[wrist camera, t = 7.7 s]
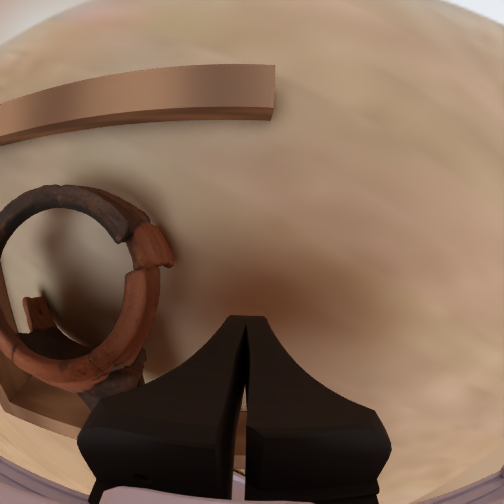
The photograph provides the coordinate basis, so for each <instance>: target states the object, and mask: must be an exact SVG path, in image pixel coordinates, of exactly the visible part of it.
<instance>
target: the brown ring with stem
mask: <svg viewBox="0 0 504 504" xmlns="http://www.w3.org/2000/svg"><path fill="white" fill-rule="evenodd" d="M52 208H67V209H72V210H77V211H79V212H83V213H85V214H87V215H89V216H91V217H92V218H94V219H95V220H96V221H98V222H99V223H100V224H101V225H102V226H103V227H104V228H105V229H106V230H107V232H108V233H109V234H110V236H111V237H112V238H113V240H114V241H115V242H116V243H117V244H120V243H121V242H126V243H127V246H128V249H129V252H130V254H131V256H132V260H133V267H134V271H131V272H129V273H127V274H126V275H125V291H124V298H123V304H122V309H121V313H120V316H119V318H118V320H117V322H116V324H115V326H114V328H113V329H112V331H111V333H110V334H109V335H108V337H107V338H106V339H105V341H104V342H103V343H102V344H100V345H99V346H98V347H96V348H95V347H88V346H84V345H82V344H79V343H77V342H75V341H73V340H71V339H70V338H68V337H67V336H66V335H64V334H63V333H62V332H61V331H60V330H59V329H58V328H57V325H56V324H55V322H54V320H53V318H52V316H51V314H50V312H49V310H48V306H47V303H46V300H45V298H44V297H43V296H42V297H35V298H30V297H25V298H23V307H24V310H25V313H26V317H27V322H28V326H29V329H30V333H29V334H27V333H15V332H14V331H13V329H12V328H11V327H10V325H9V324H8V323H7V320H6V318H5V316H4V313H3V311H2V310H1V306H0V349H1V350H2V352H3V353H4V354H5V355H6V356H7V357H8V358H9V359H11V360H12V361H14V363H15V364H16V365H17V366H18V367H19V368H20V369H22V370H23V371H25V372H27V373H29V374H31V375H33V376H34V377H37V378H38V379H40V380H42V381H44V382H45V383H47V384H49V385H52V386H56V387H59V388H62V389H64V390H67V391H70V392H72V393H76V394H77V395H78V396H79V397H80V398H81V399H82V400H83V402H84V403H85V404H86V405H87V407H88V408H89V409H90V411H92V410H93V408H94V407H95V405H96V404H97V403H98V401H99V400H100V398H103V397H107V396H111V395H114V394H118V393H121V392H125V391H128V390H131V389H134V388H136V387H139V386H142V385H144V384H145V383H144V379H143V374H142V373H143V369H144V362H145V361H146V351H145V349H143V348H142V346H143V343H144V341H145V340H146V338H147V336H148V334H149V332H150V329H151V325H152V322H153V318H154V315H155V311H156V308H157V305H158V301H159V294H160V269H159V266H165V267H167V268H172V267H173V266H174V259H173V256H172V253H171V250H170V248H169V246H168V244H167V241H166V239H165V238H164V236H163V235H162V233H161V232H160V230H159V228H158V227H157V226H154V225H152V224H151V223H150V219H149V217H148V216H147V215H146V213H144V212H143V211H141V210H140V209H138V208H137V207H135V206H134V205H132V204H131V203H129V202H127V201H125V200H123V199H121V198H120V197H118V196H115V195H113V194H111V193H109V192H106V191H103V190H100V189H96V188H90V187H84V186H74V185H63V186H59V185H43V186H41V187H39V188H36V189H33V190H30V191H27V192H25V193H23V194H21V195H20V196H18V197H17V198H16V199H14V200H12V201H11V202H10V203H9V204H8V205H7V206H6V207H4V209H3V210H2V211H1V212H0V258H1V255H2V252H3V249H4V247H5V245H6V243H7V241H8V239H9V238H10V236H11V235H12V234H13V232H14V231H15V230H16V229H17V228H18V227H19V226H20V225H21V224H22V223H23V222H24V221H26V220H27V219H28V218H30V217H31V216H33V215H34V214H37V213H39V212H41V211H44V210H48V209H52Z"/></svg>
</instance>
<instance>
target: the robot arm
mask: <svg viewBox="0 0 504 504" xmlns="http://www.w3.org/2000/svg"><path fill="white" fill-rule="evenodd" d="M244 387H245V388H246V403H247V421H246V463H245V477H244V476H242V475H240V474H238V473H236V472H235V471H233V469H234V454H235V440H236V432H237V426H238V421H239V415H240V410H241V404H242V399H243V393H244ZM77 445H78V447H79V450H80V452H81V454H82V456H83V458H84V459H85V461H86V463H87V464H88V466H89V468H90V469H91V471H92V472H93V474H94V476H95V477H96V482H95V484H94V486H93V489H92V491H91V494H90V496H89V495H86V494H83V493H81V492H78V491H75V490H72V489H70V488H67V487H65V486H62V485H60V484H57V483H55V482H52V481H50V480H48V479H45V478H43V477H41V476H39V475H37V474H35V473H32V472H30V471H28V470H26V469H24V468H22V467H20V466H18V465H16V464H14V463H13V462H11V461H9V460H7V459H5V458H3V457H2V456H0V504H379V503H378V499H377V495H376V494H378V493H379V485H378V482H377V478H378V476H379V474H380V473H381V471H382V469H383V468H384V466H385V464H386V462H387V461H388V459H389V456H390V453H391V451H392V449H391V442H390V439H389V437H388V434H387V432H386V430H385V428H384V426H383V424H382V422H381V420H380V419H379V417H378V415H377V414H376V412H375V411H374V410H372V409H369V408H367V407H364V406H362V405H360V404H357V403H355V402H352V401H350V400H348V399H346V398H344V397H342V396H340V395H339V394H337V393H335V392H333V391H332V390H330V389H328V388H327V387H325V386H324V385H322V384H321V383H319V382H318V381H317V380H315V379H314V378H313V377H311V376H310V375H309V374H308V373H306V372H305V371H304V370H303V369H302V368H301V367H300V366H299V365H298V364H297V363H296V362H295V361H294V360H293V358H292V357H291V356H290V355H289V354H288V353H287V351H286V350H285V349H284V347H283V346H282V345H281V343H280V342H279V340H278V339H277V337H276V336H275V334H274V333H273V331H272V329H271V327H270V325H269V323H268V321H267V319H266V318H265V317H264V316H237V315H230V316H229V317H228V318H227V319H226V320H225V322H224V323H223V324H222V326H221V327H220V328H219V329H218V331H217V332H216V333H215V334H214V335H213V336H212V337H211V338H210V340H209V341H208V342H207V343H206V344H205V345H204V346H203V347H202V348H200V349H199V350H198V351H197V352H196V353H195V354H194V355H193V356H192V357H190V358H189V359H188V360H187V361H185V362H184V363H183V364H181V365H180V366H178V367H177V368H175V369H173V370H172V371H170V372H168V373H166V374H165V375H163V376H161V377H159V378H157V379H155V380H153V381H151V382H149V383H146V384H144V385H142V386H139V387H136V388H134V389H131V390H128V391H125V392H121V393H118V394H114V395H111V396H107V397H103V398H100V400H99V401H98V403H97V404H96V405H95V407H94V408H93V410H92V411H91V413H90V415H89V416H88V418H87V420H86V422H85V423H84V425H83V427H82V429H81V431H80V432H79V434H78V436H77ZM415 504H504V465H503V467H502V468H501V470H500V471H498V472H497V473H494V474H492V475H490V476H488V477H486V478H484V479H481V480H479V481H477V482H474V483H472V484H470V485H467V486H465V487H462V488H460V489H457V490H454V491H452V492H449V493H447V494H444V495H441V496H437V497H435V498H432V499H428V500H425V501H422V502H419V503H415Z"/></svg>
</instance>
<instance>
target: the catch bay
mask: <svg viewBox="0 0 504 504" xmlns="http://www.w3.org/2000/svg"><path fill="white" fill-rule="evenodd" d="M274 95H275V65H256V64H217V65H193V66H178V67H166V68H157V69H148V70H140V71H133V72H126V73H119V74H113V75H108V76H102V77H97V78H92V79H87V80H83V81H78V82H74V83H69V84H65V85H61V86H57V87H54V88H50V89H46V90H43V91H39V92H36V93H33V94H29V95H26V96H23V97H20V98H17V99H14V100H11V101H8V102H5V103H3V104H0V146H2V145H6V144H10V143H14V142H18V141H23V140H27V139H32V138H37V137H42V136H47V135H52V134H58V133H64V132H70V131H76V130H83V129H90V128H97V127H105V126H114V125H123V124H134V123H146V122H160V121H179V120H269V121H270V120H271V117H272V113H273V110H274ZM0 306H1V310H2V311H3V313H4V316H5V318H6V320H7V323H8V324H9V325H10V327H11V328H12V329H13V331H14V332H15V333H18V331H17V328H16V325H15V321H14V318H13V315H12V311H11V307H10V304H9V300H8V296H7V292H6V287H5V283H4V279H3V274H2V269H1V264H0ZM0 404H1V406H2V408H3V410H4V411H5V412H7V413H9V414H11V415H13V416H16V417H18V418H20V419H22V420H25V421H27V422H29V423H32V424H34V425H37V426H39V427H42V428H44V429H47V430H50V431H52V432H55V433H58V434H61V435H64V436H67V437H70V438H73V439H76V440H77V436H78V434H79V432H80V431H81V429H82V427H83V425H84V423H85V422H86V420H87V418H88V416H89V415H90V413H91V411H90V409H89V408H88V407H87V405H86V404H85V403H84V402H83V400H82V399H81V398H80V397H79V396H78V395H77V394H76V393H72V392H70V391H67V390H64V389H62V388H59V387H56V386H52V385H49V384H47V383H45V382H44V381H42V380H40V379H38V378H37V377H34V376H33V375H31V374H29V373H27V372H25V371H23V370H22V369H20V368H19V367H18V366H17V365H16V364H15V363H14V361H12V360H11V359H9V358H8V357H7V356H6V355H5V354H4V353H3V352H2V350H1V349H0ZM246 421H247V412H241V411H240V415H239V421H238V426H237V432H236V440H235V454H234V469H245V463H246Z"/></svg>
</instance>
